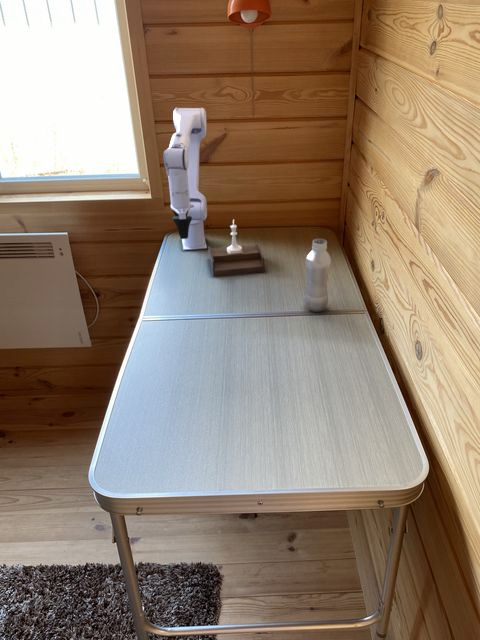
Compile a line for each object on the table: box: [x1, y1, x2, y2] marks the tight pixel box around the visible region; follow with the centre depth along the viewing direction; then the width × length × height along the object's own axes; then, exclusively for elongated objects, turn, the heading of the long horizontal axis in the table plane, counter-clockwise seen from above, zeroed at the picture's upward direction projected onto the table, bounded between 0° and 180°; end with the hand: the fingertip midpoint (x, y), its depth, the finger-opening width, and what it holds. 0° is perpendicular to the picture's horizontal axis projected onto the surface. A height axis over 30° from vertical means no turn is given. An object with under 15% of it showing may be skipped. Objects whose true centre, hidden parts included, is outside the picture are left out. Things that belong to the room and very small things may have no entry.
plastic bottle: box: [303, 238, 332, 313], centre depth 138 cm, size 6×7×20 cm
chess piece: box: [226, 219, 242, 253], centre depth 163 cm, size 5×5×10 cm
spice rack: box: [207, 241, 265, 277], centre depth 165 cm, size 12×16×5 cm
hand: (183, 233), depth 161 cm, fingers open, 7 cm apart
